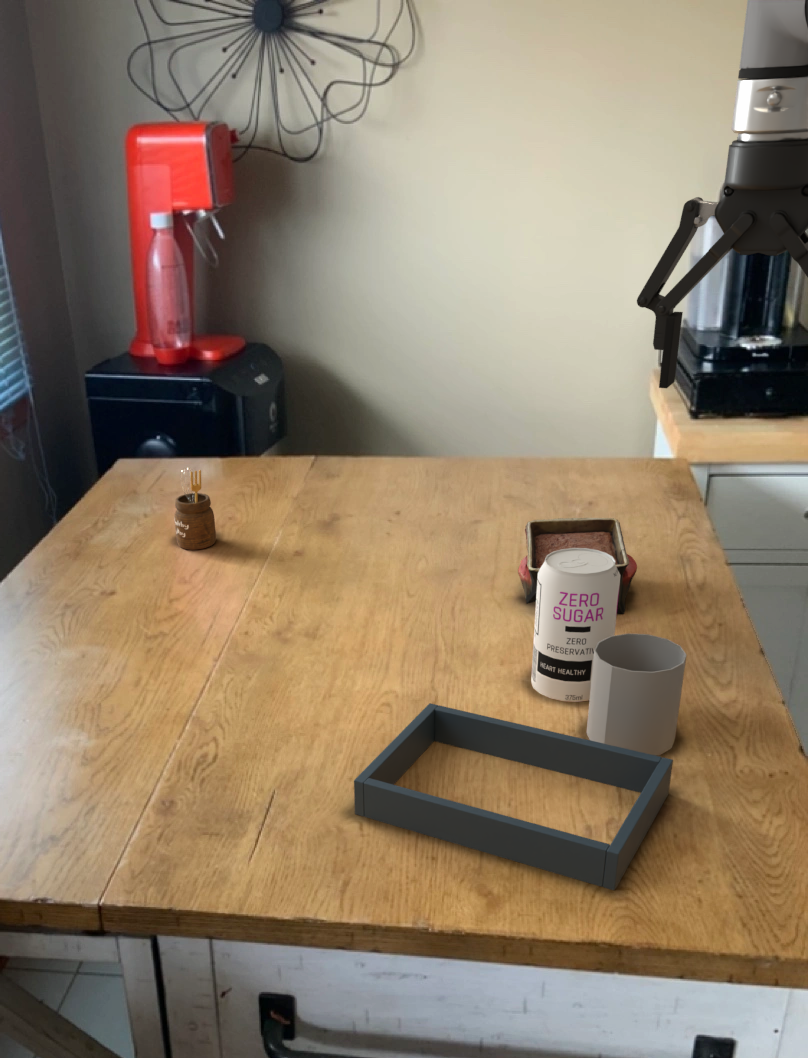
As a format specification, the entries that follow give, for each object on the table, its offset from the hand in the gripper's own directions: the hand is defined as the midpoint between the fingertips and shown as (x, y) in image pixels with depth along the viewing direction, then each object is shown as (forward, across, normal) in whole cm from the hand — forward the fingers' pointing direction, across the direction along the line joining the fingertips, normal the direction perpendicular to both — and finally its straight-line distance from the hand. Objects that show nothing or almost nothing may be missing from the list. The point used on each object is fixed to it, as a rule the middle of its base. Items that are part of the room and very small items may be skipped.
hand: (740, 390), depth 106 cm
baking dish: (+32, -20, +19) cm, 42 cm away
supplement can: (+32, -12, -6) cm, 35 cm away
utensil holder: (+32, -76, +14) cm, 84 cm away
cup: (+32, -3, -14) cm, 35 cm away
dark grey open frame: (+32, -9, -30) cm, 45 cm away
